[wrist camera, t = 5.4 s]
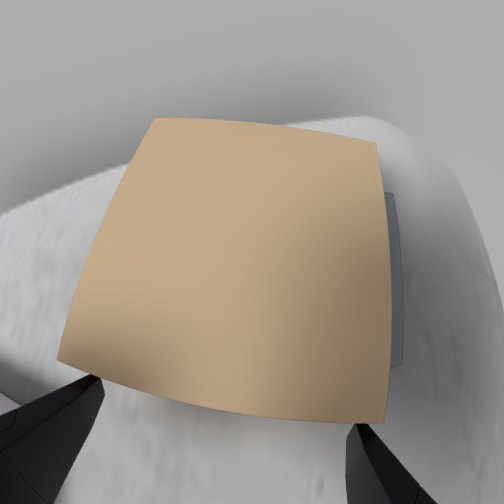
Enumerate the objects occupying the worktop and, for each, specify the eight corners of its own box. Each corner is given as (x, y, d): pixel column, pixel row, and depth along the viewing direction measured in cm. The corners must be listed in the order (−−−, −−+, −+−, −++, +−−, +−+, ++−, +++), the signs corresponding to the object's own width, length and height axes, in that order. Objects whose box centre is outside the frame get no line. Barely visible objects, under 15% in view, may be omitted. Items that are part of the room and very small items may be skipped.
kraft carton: (324, 412, 15) (384, 422, 7) (134, 378, 15) (56, 360, 8) (338, 228, 20) (375, 142, 13) (181, 206, 21) (155, 118, 14)
